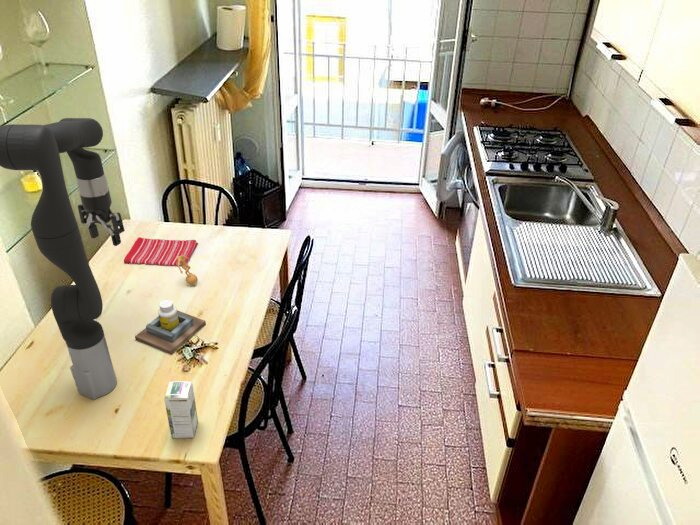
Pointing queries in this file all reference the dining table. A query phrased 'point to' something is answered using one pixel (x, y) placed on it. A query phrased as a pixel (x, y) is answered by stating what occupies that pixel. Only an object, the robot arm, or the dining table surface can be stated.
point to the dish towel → (160, 251)
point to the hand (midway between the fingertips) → (106, 240)
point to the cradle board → (170, 333)
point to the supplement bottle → (168, 315)
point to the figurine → (190, 278)
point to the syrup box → (181, 409)
